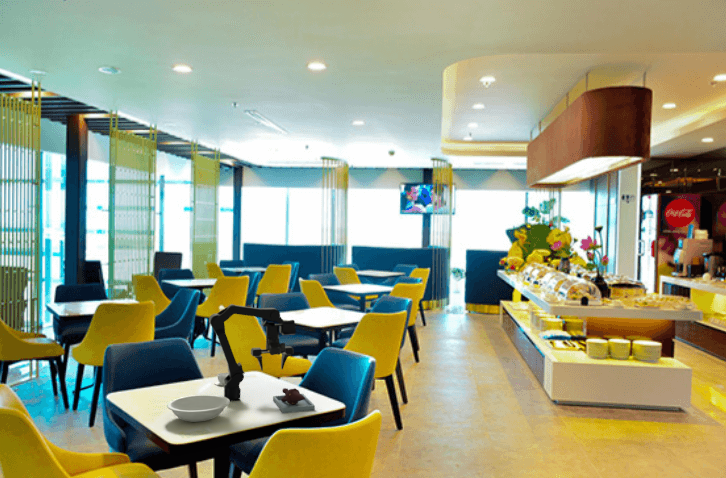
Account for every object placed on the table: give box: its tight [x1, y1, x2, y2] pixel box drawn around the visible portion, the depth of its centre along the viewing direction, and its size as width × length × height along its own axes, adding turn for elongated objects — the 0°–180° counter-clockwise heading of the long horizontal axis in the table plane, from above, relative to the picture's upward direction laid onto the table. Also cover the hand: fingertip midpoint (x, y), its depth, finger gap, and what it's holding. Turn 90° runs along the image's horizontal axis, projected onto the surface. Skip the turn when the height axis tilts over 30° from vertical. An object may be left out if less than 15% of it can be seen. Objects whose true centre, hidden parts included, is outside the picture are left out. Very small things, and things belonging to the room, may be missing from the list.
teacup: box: [214, 372, 229, 386], centre depth 283 cm, size 10×10×5 cm
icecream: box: [281, 387, 305, 405], centre depth 247 cm, size 7×7×15 cm
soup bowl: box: [166, 394, 231, 423], centre depth 226 cm, size 24×24×7 cm
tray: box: [272, 393, 316, 414], centre depth 247 cm, size 14×20×2 cm
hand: (272, 369), depth 260 cm, fingers open, 9 cm apart
